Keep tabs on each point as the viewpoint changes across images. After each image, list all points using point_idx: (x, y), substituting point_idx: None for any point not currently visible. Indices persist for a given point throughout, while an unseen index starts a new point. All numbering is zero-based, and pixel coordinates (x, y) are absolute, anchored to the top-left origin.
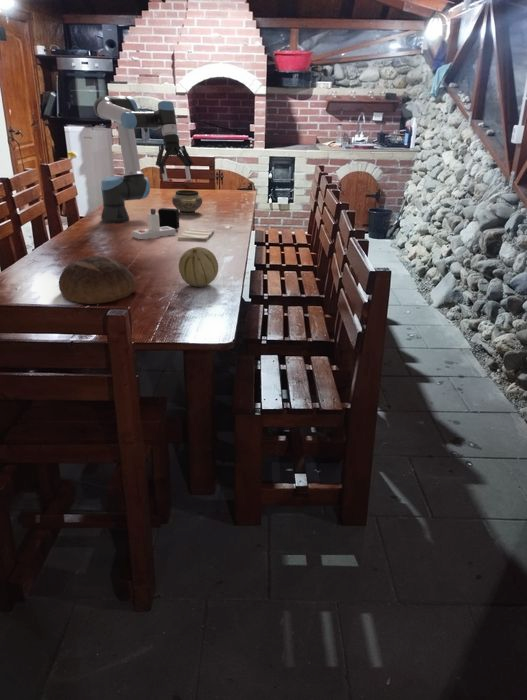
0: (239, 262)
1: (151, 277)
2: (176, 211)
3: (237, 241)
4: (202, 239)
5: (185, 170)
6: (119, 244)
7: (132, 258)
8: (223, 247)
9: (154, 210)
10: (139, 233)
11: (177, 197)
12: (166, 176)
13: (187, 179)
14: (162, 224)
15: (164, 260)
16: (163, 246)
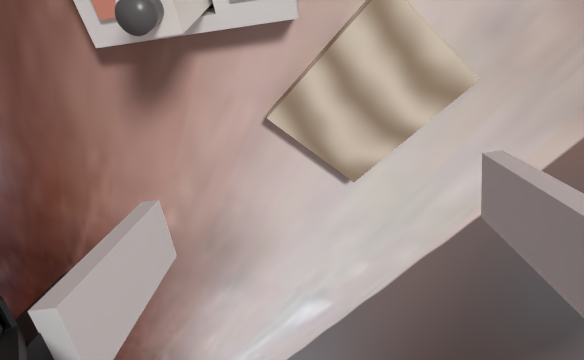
0: (315, 332)
1: None
2: None
3: (450, 212)
4: (343, 173)
5: (571, 215)
6: (14, 70)
7: (75, 233)
8: (360, 245)
9: (145, 33)
10: (91, 35)
11: None
12: (155, 279)
13: (486, 176)
14: None
15: None
16: (186, 166)
